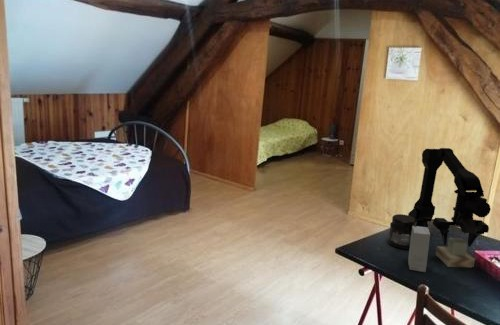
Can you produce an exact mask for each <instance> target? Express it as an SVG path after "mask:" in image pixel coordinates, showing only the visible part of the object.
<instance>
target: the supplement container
mask: <svg viewBox="0 0 500 325" xmlns="http://www.w3.org/2000/svg"><path fill="white" fill-rule="evenodd" d="M391 220H392V221H391V222H390V224H389V227H390V228H389V232H388V239H387V240H388V243H389V245H391V246H392V247H394V248H396V249H399V250H400V249H401V250H409V249H410V241H411V232H412V226H416V223H417V220H416V219H415V218H414V217H411V216H408V214H401V213H398V214H394V215H393V216H392V219H391Z"/></svg>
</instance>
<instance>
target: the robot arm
mask: <svg viewBox="0 0 500 325" xmlns="http://www.w3.org/2000/svg"><path fill="white" fill-rule="evenodd" d="M421 163H422V164H423V167H424V171H423V175H422V176H423V177H422V182H421V189H420V195H419V198H418V200H417V201H416V202H415V203H414V205H413V209H411V210H410V211H409V212H408V214H407V215H408V216H411V217H414V218H415V219H416V220H417V223H416V226H420V227H428V228H429V224H428V223H429V222H431V221H432V225H433V226H434V227H435V228H436V229H437V230H439V233H440V235H441V239H442V243H443V245H444V246H446V245H447V243H448V234H449V232H450V230H449V229H450V227H452V228H460V230H461V232H462V233H463V234H468V238H467V247H469V248H470V247H471V246H472V245H473V243H474V241H475V240H476V239H477V237H478V236H481V235H484V234H485V233H486V234H487V233H489V230H490V226H489V224H487V223H486V222H484V221H483V220H482V219H481V220H480V219H479V220H478V219H474V215H475V216H476V217H479V218H485V217H487V216H488V215H489V214H490V213H491V209H492V208H491V205H490V204H489V203H488V202H487V201H488V199H487V198H486V197H485V195H484V194H485V193H484V189H483V187H482V182H481V179H480V178H479V177H478V176H477V175H476V174H475V173H474V172H472V171H470V170H468V169H467V168H466V167H465V166H464V165H463V163H462V162H461V161H460V159H459V158H458V157H457V155H455V153H454V150H453V149H452V148H449V147H441V148H425V149H424V150H423V151H422V153H421ZM443 163H444V165H445V166H446V168H447V169H448V170H449V171H450V173H451V174H452V175H453V178H454V179H453V183H454V185H455V187H456V188H457V189H455V190H454V191H453V192H454V194H456V200H455V205H454V207H452V210H453V211H454V212H453V216H452V217H451V219H450V220H451V221H448V220H447V219H445V217H434V215H435V211H436V206H435V205H434V203H433V195H434V188H435V183H436V178H437V171H438V169H439V168H440V167H441V166H442V165H443ZM433 218H434V219H433Z"/></svg>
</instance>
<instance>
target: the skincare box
mask: <svg viewBox="0 0 500 325" xmlns="http://www.w3.org/2000/svg"><path fill="white" fill-rule="evenodd" d="M430 232H431V231H430V230H429V226H428V227H420V226H412V232H411V241H410V249H408V250H409V251H408V258H407V264H408V268H409V270H411V271H416V272H421V273H426V272H427V264H428V263H427V262H428V257H429V256H428V255H429V248H430V240H431V233H430Z"/></svg>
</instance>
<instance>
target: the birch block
mask: <svg viewBox="0 0 500 325" xmlns="http://www.w3.org/2000/svg"><path fill="white" fill-rule="evenodd" d="M435 256H437V258H438V259H440V261H441V262H442V263H444V265H445V266H447V267H448V268H449V267H450V268H452V267H453V268H472V267H474V266H475V262H476V258H475V257H474V256H473V255H471V254H470V253H469V252H468V251H466V255H465V256H461V255H452V254H451V253H450V252H449V251H448V250H447V246H438V245H437V246H436V249H435Z"/></svg>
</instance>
